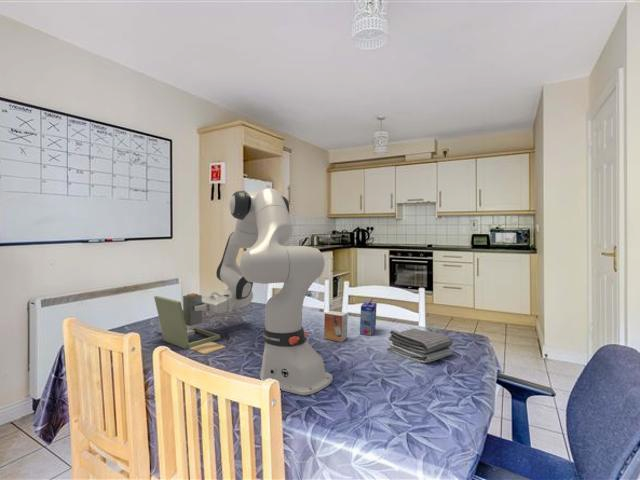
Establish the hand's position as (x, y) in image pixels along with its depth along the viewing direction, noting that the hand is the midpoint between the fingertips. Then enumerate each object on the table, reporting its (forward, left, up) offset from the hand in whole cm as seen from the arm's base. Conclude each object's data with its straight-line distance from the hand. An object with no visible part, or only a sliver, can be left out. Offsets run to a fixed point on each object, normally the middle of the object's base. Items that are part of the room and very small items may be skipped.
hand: (189, 307), depth 132 cm
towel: (-76, -43, -14) cm, 88 cm away
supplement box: (+16, 0, -13) cm, 21 cm away
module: (0, -1, -7) cm, 7 cm away
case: (+1, 0, -13) cm, 13 cm away
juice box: (-50, -54, -13) cm, 74 cm away
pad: (-13, 0, -13) cm, 18 cm away
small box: (-44, -38, -13) cm, 59 cm away
